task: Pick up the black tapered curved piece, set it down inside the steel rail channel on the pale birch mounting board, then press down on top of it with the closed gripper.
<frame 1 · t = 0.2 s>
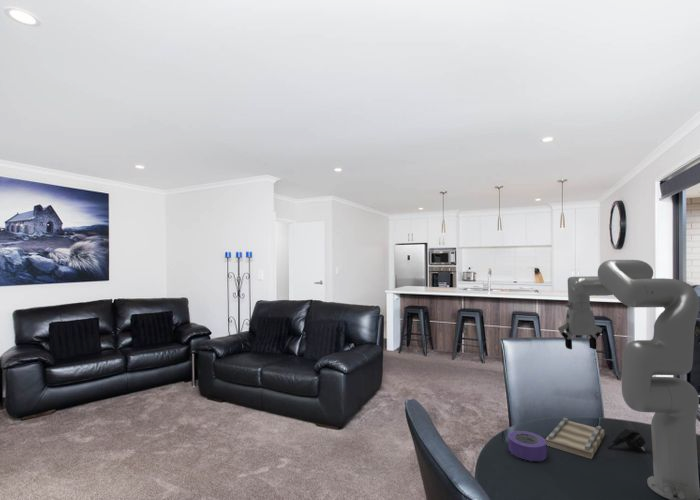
hand: (581, 348, 147), 31 cm above the table, tool pointing down, fingers open, 9 cm apart
tape roll: (527, 453, 124), on the table
mounting board: (575, 440, 133), on the table
black tapered curved piece: (625, 449, 126), on the table
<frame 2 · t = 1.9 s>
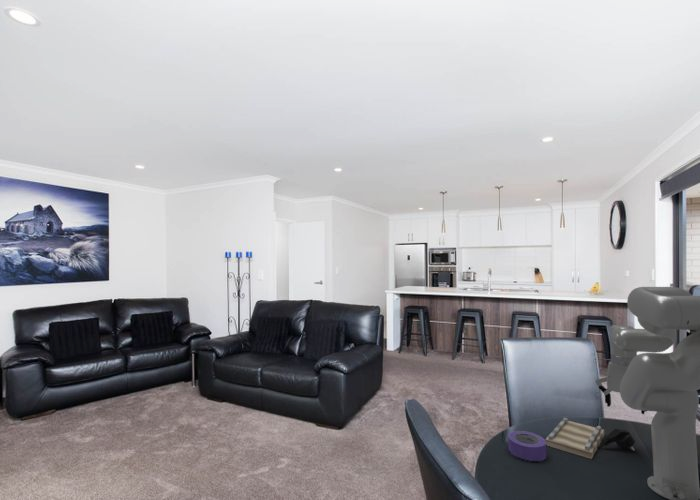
hand: (625, 409, 127), 13 cm above the table, tool pointing down, fingers open, 9 cm apart
black tapered curved piece: (615, 449, 126), on the table
everything else where it was.
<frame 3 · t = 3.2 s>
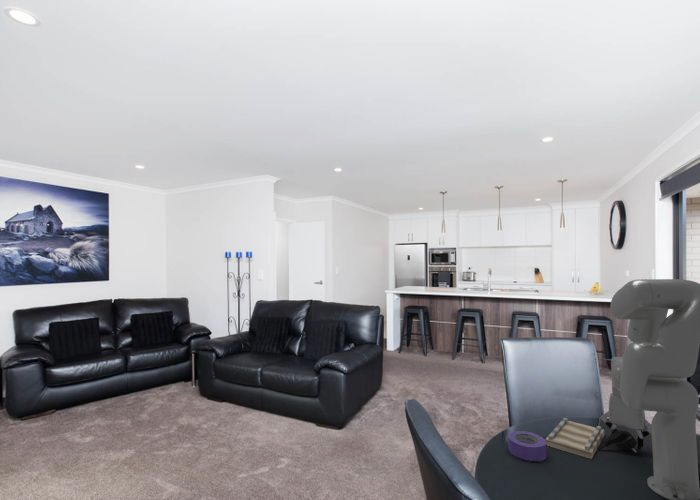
hand: (627, 444, 126), 1 cm above the table, tool pointing down, fingers open, 5 cm apart
black tapered curved piece: (616, 451, 125), on the table, touching gripper
everything else where it was.
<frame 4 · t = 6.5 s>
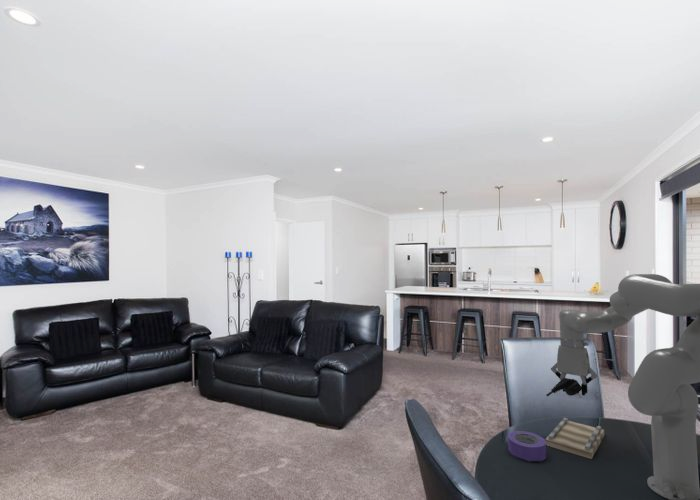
hand: (574, 392, 134), 17 cm above the table, tool pointing down, fingers closed on black tapered curved piece, 5 cm apart
black tapered curved piece: (563, 397, 132), point 16 cm above the table, touching gripper
everything else where it was.
when the fingers open (4 cm above the table, at t = 9.4 s): black tapered curved piece stays where it is, resting on mounting board.
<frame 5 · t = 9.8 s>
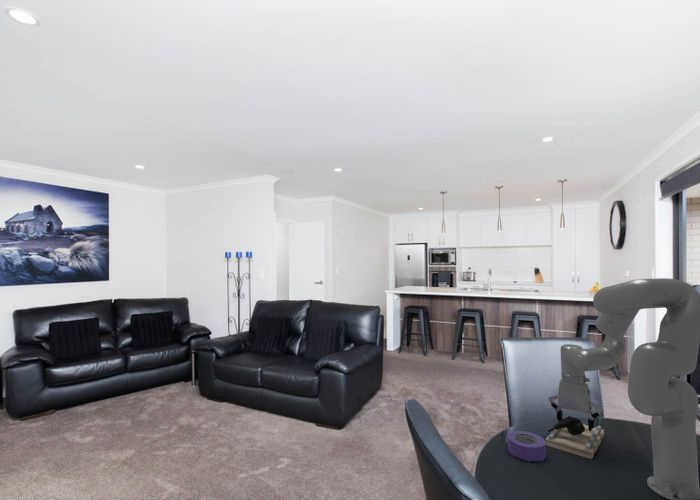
hand: (575, 425, 133), 5 cm above the table, tool pointing down, fingers open, 9 cm apart
black tapered curved piece: (564, 435, 131), point 3 cm above the table, touching mounting board
everything else where it was.
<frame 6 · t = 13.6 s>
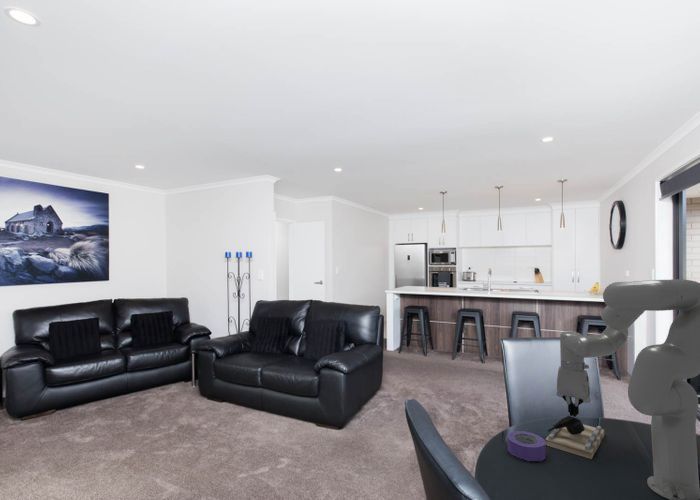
hand: (573, 415, 134), 9 cm above the table, tool pointing down, fingers closed
black tapered curved piece: (564, 435, 131), point 3 cm above the table, touching gripper, mounting board
everything else where it was.
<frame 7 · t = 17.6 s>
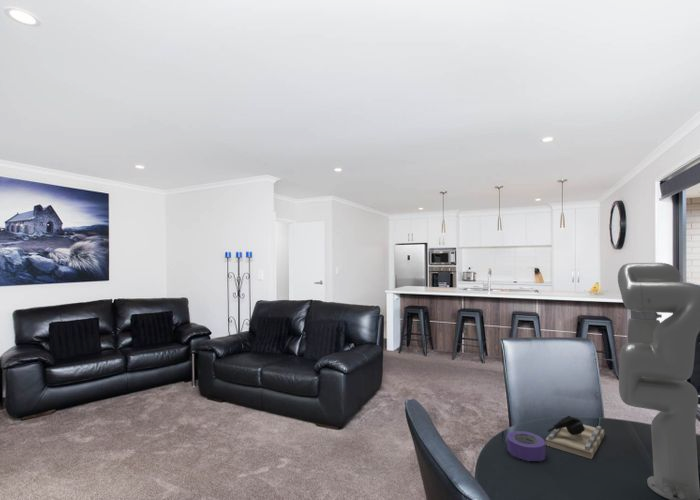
hand: (646, 365, 133), 27 cm above the table, tool pointing down, fingers closed
black tapered curved piece: (564, 435, 131), point 3 cm above the table, touching mounting board
everything else where it was.
at the end: black tapered curved piece inside the target area on the mounting board (5.4 cm from its centre), point 2.6 cm above the mounting board's base; black tapered curved piece tilted 8°; the gripper is holding nothing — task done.
